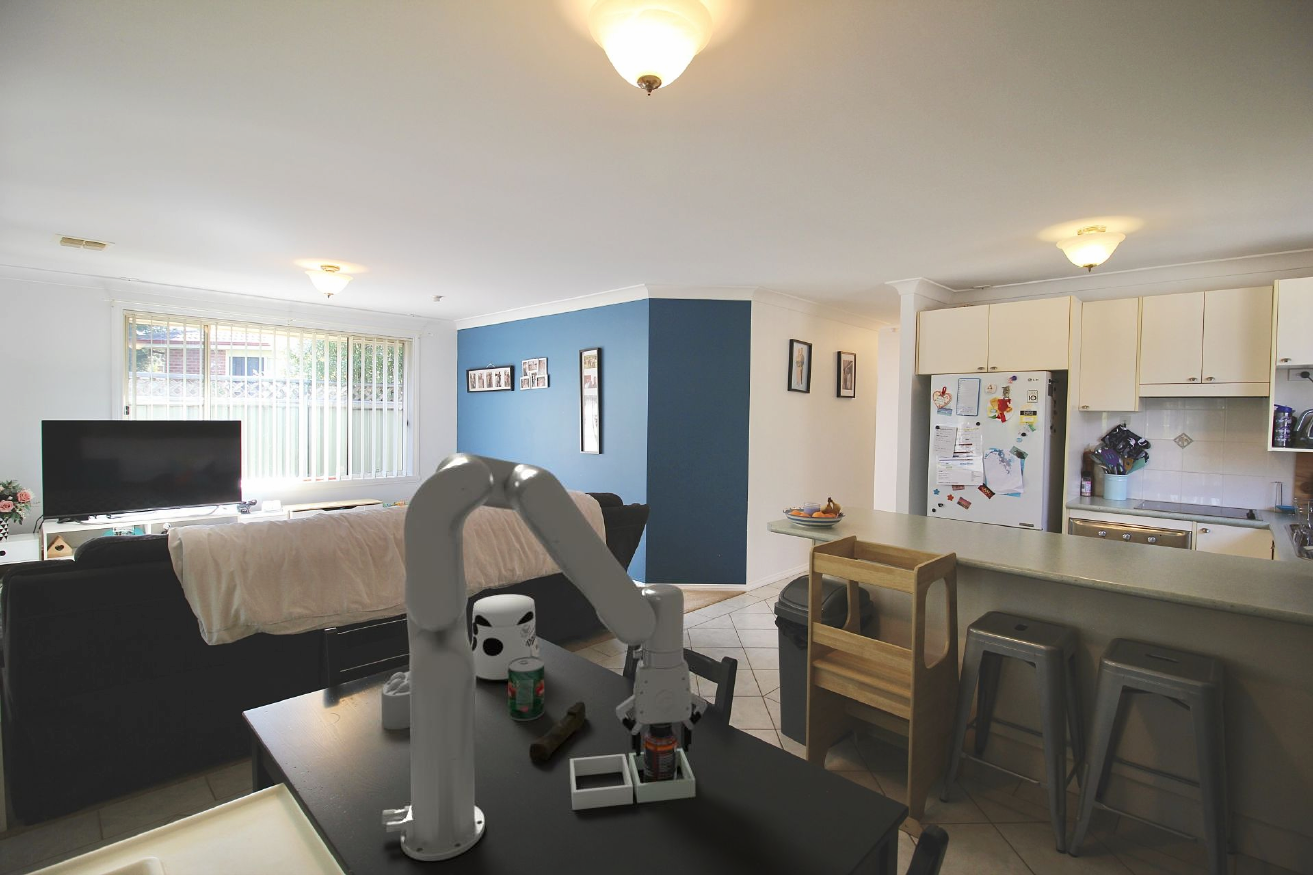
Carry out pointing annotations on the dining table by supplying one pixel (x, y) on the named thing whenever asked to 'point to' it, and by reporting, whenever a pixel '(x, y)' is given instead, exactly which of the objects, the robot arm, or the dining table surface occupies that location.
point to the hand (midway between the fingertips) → (661, 749)
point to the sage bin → (662, 788)
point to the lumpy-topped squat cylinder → (396, 702)
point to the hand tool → (558, 733)
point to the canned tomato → (526, 688)
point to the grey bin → (604, 794)
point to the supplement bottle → (660, 753)
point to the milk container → (502, 634)
